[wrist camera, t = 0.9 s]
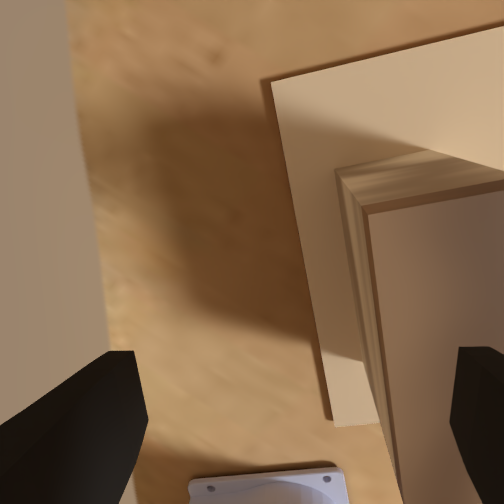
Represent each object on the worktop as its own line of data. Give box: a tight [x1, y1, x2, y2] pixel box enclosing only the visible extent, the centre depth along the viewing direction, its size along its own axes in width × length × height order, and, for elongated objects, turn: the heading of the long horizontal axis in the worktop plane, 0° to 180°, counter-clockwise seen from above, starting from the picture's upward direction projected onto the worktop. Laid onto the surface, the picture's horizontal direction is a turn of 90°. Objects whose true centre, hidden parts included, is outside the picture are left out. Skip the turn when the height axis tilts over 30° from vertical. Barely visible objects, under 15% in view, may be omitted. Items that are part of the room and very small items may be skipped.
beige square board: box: [271, 26, 504, 427], centre depth 18 cm, size 16×18×1 cm
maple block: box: [334, 150, 504, 504], centre depth 15 cm, size 4×10×8 cm, turn 12°
